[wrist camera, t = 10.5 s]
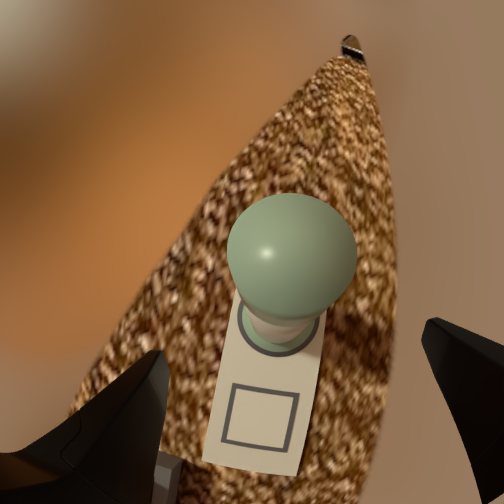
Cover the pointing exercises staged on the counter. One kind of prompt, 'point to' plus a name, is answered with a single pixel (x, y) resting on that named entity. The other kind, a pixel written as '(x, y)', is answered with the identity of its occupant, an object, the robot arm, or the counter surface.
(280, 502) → the counter surface
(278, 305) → the ball
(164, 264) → the counter surface
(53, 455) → the robot arm
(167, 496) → the button housing
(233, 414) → the colouring card
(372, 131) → the counter surface
